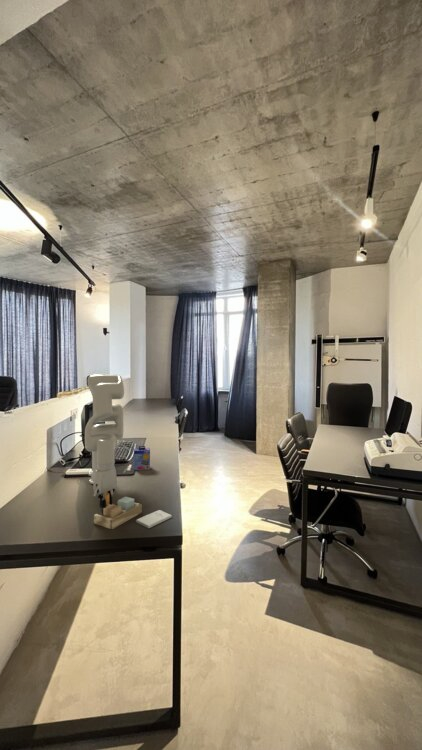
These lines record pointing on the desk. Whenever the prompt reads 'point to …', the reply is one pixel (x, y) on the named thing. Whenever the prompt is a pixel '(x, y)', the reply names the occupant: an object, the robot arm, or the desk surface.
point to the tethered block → (122, 502)
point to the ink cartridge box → (141, 458)
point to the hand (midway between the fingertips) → (105, 505)
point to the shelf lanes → (118, 517)
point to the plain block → (112, 511)
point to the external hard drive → (153, 518)
